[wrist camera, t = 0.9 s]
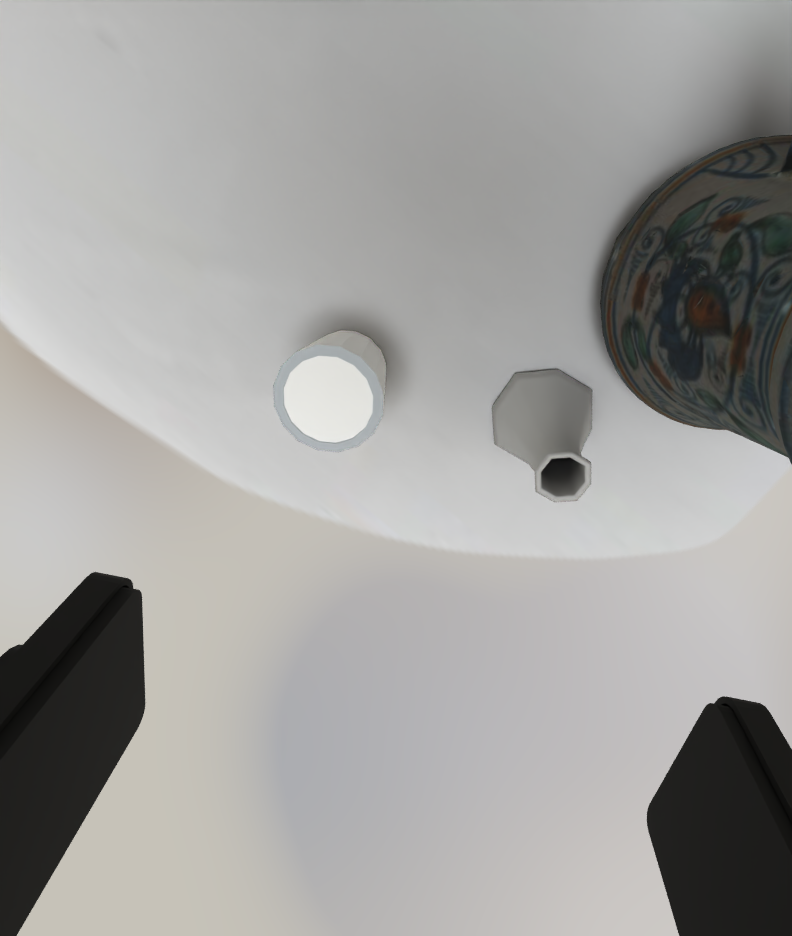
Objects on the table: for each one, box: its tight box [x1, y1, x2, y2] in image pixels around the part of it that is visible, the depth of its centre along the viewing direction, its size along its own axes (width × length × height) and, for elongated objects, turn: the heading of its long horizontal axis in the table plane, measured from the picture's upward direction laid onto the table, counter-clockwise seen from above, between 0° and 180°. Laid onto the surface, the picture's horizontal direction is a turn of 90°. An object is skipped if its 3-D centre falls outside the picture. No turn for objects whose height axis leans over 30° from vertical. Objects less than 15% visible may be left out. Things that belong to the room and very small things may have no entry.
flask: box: [492, 369, 592, 502], centre depth 38 cm, size 7×7×10 cm
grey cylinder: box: [273, 330, 386, 452], centre depth 39 cm, size 7×7×7 cm
